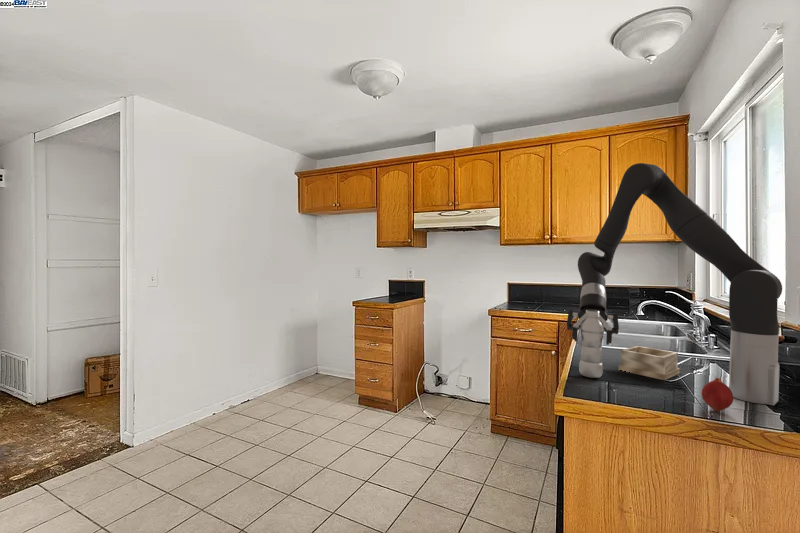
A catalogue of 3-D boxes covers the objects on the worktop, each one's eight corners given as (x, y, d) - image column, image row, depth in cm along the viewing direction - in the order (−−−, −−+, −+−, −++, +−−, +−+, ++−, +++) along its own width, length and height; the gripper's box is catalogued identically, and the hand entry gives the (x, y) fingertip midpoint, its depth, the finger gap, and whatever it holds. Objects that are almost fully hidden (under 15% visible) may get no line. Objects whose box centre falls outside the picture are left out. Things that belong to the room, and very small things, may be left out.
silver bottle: (590, 373, 123) (592, 309, 123) (608, 379, 117) (610, 311, 116) (573, 374, 121) (575, 309, 121) (590, 381, 115) (592, 312, 114)
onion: (696, 405, 96) (697, 372, 96) (725, 408, 95) (726, 375, 95) (707, 414, 91) (708, 379, 91) (738, 417, 89) (739, 382, 89)
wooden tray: (679, 373, 125) (680, 352, 125) (664, 380, 117) (665, 358, 117) (635, 364, 136) (635, 345, 135) (618, 370, 127) (619, 350, 127)
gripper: (568, 291, 129) (565, 331, 119) (618, 293, 122) (619, 336, 112) (569, 306, 133) (566, 346, 123) (617, 309, 127) (618, 351, 117)
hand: (591, 341), depth 118 cm, fingers open, 8 cm apart
